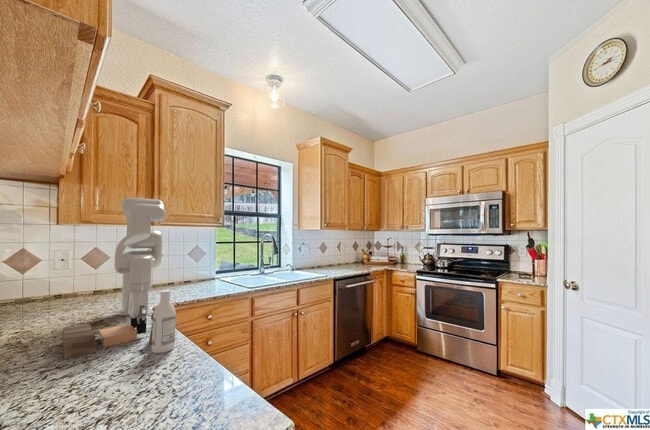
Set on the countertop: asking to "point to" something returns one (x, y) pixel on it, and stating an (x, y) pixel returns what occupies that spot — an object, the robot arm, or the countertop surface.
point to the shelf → (78, 340)
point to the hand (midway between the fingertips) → (137, 330)
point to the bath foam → (164, 325)
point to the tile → (117, 335)
